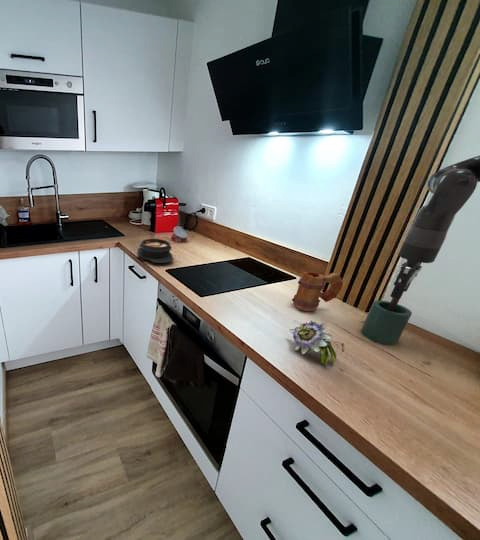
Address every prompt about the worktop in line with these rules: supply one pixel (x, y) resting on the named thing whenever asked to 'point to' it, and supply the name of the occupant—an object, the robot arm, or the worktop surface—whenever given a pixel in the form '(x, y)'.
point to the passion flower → (314, 340)
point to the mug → (315, 290)
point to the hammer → (393, 304)
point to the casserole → (155, 250)
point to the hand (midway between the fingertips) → (398, 294)
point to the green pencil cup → (385, 323)
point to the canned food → (179, 235)
